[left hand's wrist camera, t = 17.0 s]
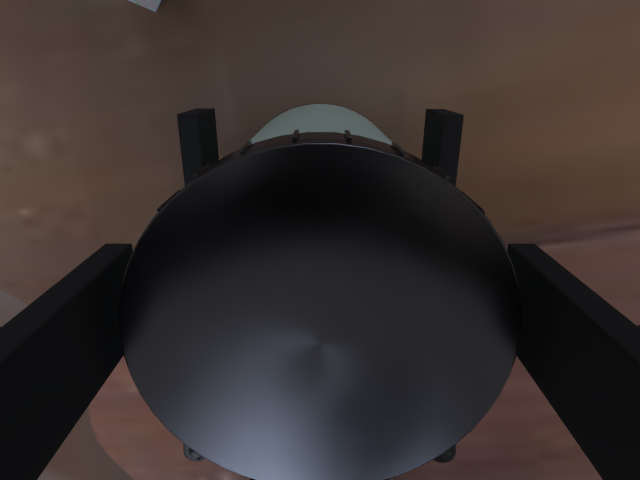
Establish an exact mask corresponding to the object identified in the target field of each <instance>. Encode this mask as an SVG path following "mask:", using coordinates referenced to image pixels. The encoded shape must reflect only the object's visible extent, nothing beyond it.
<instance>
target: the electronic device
mask: <svg viewBox="0 0 640 480" xmlns="http://www.w3.org/2000/svg"><path fill="white" fill-rule="evenodd" d="M128 1H131V2H133V3H135V4H138V5H140V6H142V7H145V8H147V9H149V10H152V11H154V12H156V11H157V9H158V7H159V4H160V2H161V0H128Z"/></svg>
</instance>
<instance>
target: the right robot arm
mask: <svg viewBox="0 0 640 480" xmlns="http://www.w3.org/2000/svg"><path fill="white" fill-rule="evenodd" d="M463 116H464V115H462V114H458V113H455V112H451V111H448V110H445V109H426V116H425V128H424V140H423V151H422V161H423V162H425V163H426V164H428V165H430V166H431V167H433V166H434V165H435V166H437V167H438V168H439V169H441V170H442V171H443V172H444V173H445V174H447V175H448V176H449V177H450V178H451V179H450V180H449V182H450V183H451V184H453V185H454V186H455V185H456V176H457V167H458V159H459V150H460V142H461V133H462V125H463ZM177 118H178V127H179V136H180V145H181V154H182V163H183V172H184V181H185V186H186V185H188V184H189V183H190V182H191V181H192V180H194V177H193V175H194V174H195V173H196V172H197V171H199V170H200V169H201V168H202V167H204V166H205V165H206V164H208V163H209V164H210V165H212V164H214V163H216V162H217V161H219V158H218V146H217V133H216V121H215V109H194V110H190V111H187V112H184V113H180V114H177ZM179 191H180V190H179ZM179 191H177V192H176V193H175V194H177V193H178V192H179ZM461 192H462V191H461ZM462 193H463V192H462ZM463 194H464V193H463ZM464 195H466V194H464ZM466 196H467V195H466ZM171 197H172V196H171ZM171 197H170V198H171ZM471 200H472V199H471ZM455 453H456V447H455V445H454V446H452V447H451V448H449V449H448V450H447V451H445V452H444V453H442V454H441V455H439V456H438V457H436V458H434V460H435V461H437V462H442V463H444V462H448V461H450V460H452V459H453V458H454V456H455ZM184 455H185V456H186V458H188V459H189V460H191V461H202V460H204V459H205V458H204V457H202V456H201V455H199V454H198V453H197V452H195V451H194V450H192V449H191V448H189V447H188V446H186V445H185V444H184ZM250 480H255V479H251V478H250ZM386 480H389V479H386Z"/></svg>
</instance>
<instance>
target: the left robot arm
mask: <svg viewBox="0 0 640 480" xmlns="http://www.w3.org/2000/svg"><path fill="white" fill-rule="evenodd" d="M507 252H508V255H509V257H510V259H511V261H512V263H513V267H514V270H515V274H516V278H517V281H518V285H519V291H520V300H521V309H522V314H521V335H520V340H519V345H518V350H517V357H518V358H519V359H520V361H521V362H522V364H523V365H524V367H525V368H526V370H527V371H528V372H529V374H530V375H531V377H532V378H533V380H534V381H535V383H536V384H537V385H538V387H539V388H540V390H541V391H542V393H543V394H544V395H545V397H546V398H547V400H548V401H549V403H550V404H551V406H552V407H553V408H554V410H555V411H556V413H557V414H558V416H559V417H560V419H561V420H562V421H563V423H564V424H565V426H566V427H567V429H568V430H569V431H570V433H571V434H572V436H573V437H574V439H575V440H576V442H577V443H578V444H579V446H580V447H581V449H582V450H583V452H584V453H585V455H586V456H587V457H588V459H589V460H590V462H591V463H592V465H593V466H594V467H595V469H596V470H597V472H598V473H599V475H600V476H601V478H602V479H603V480H640V326H636V325H635V324H634V323H632V322H631V321H630V320H629V319H627V318H626V317H625V316H624V315H622V314H621V313H620V312H619V311H617V310H616V309H615V308H614V307H612V306H611V305H610V304H609V303H608V302H606V301H605V300H604V299H603V298H601V297H600V296H599V295H598V294H596V293H595V292H594V291H593V290H591V289H590V288H589V287H588V286H586V285H585V284H584V283H583V282H581V281H580V280H579V279H578V278H576V277H575V276H574V275H573V274H571V273H570V272H569V271H568V270H566V269H565V268H564V267H563V266H561V265H560V264H559V263H558V262H556V261H555V260H554V259H553V258H551V257H550V256H549V255H548V254H546V253H545V252H544V251H543V250H541V249H540V248H539V247H538V246H536V245H535V244H508V249H507ZM132 253H133V249H132V244H105V245H104V246H102V247H101V248H100V249H99V250H97V251H96V252H95V253H94V254H92V255H91V256H90V257H89V258H87V259H86V260H85V261H84V262H82V263H81V264H80V265H79V266H77V267H76V268H75V269H74V270H72V271H71V272H70V273H69V274H67V275H66V276H65V277H64V278H62V279H61V280H60V281H59V282H57V283H56V284H55V285H54V286H52V287H51V288H50V289H49V290H47V291H46V292H45V293H44V294H42V295H41V296H40V297H39V298H37V299H36V300H35V301H34V302H32V303H31V304H30V305H29V306H28V307H26V308H25V309H24V310H23V311H21V312H20V313H19V314H18V315H16V316H15V317H14V318H13V319H11V320H10V321H9V322H8V323H6V324H5V325H4V326H3V327H0V480H37V479H38V477H39V476H40V475H41V473H42V472H43V470H44V469H45V467H46V466H47V464H48V463H49V462H50V460H51V459H52V457H53V456H54V454H55V453H56V452H57V450H58V449H59V447H60V446H61V444H62V443H63V442H64V440H65V439H66V437H67V436H68V434H69V433H70V431H71V430H72V429H73V427H74V426H75V424H76V423H77V421H78V420H79V419H80V417H81V416H82V414H83V413H84V411H85V410H86V408H87V407H88V406H89V404H90V403H91V401H92V400H93V398H94V397H95V395H96V394H97V393H98V391H99V390H100V388H101V387H102V385H103V384H104V383H105V381H106V380H107V378H108V377H109V375H110V374H111V372H112V371H113V370H114V368H115V367H116V365H117V364H118V362H119V361H120V359H121V358H122V357H123V355H124V354H123V349H122V343H121V338H120V333H119V302H120V294H121V286H122V282H123V279H124V275H125V272H126V268H127V265H128V262H129V260H130V257H131V255H132Z"/></svg>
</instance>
